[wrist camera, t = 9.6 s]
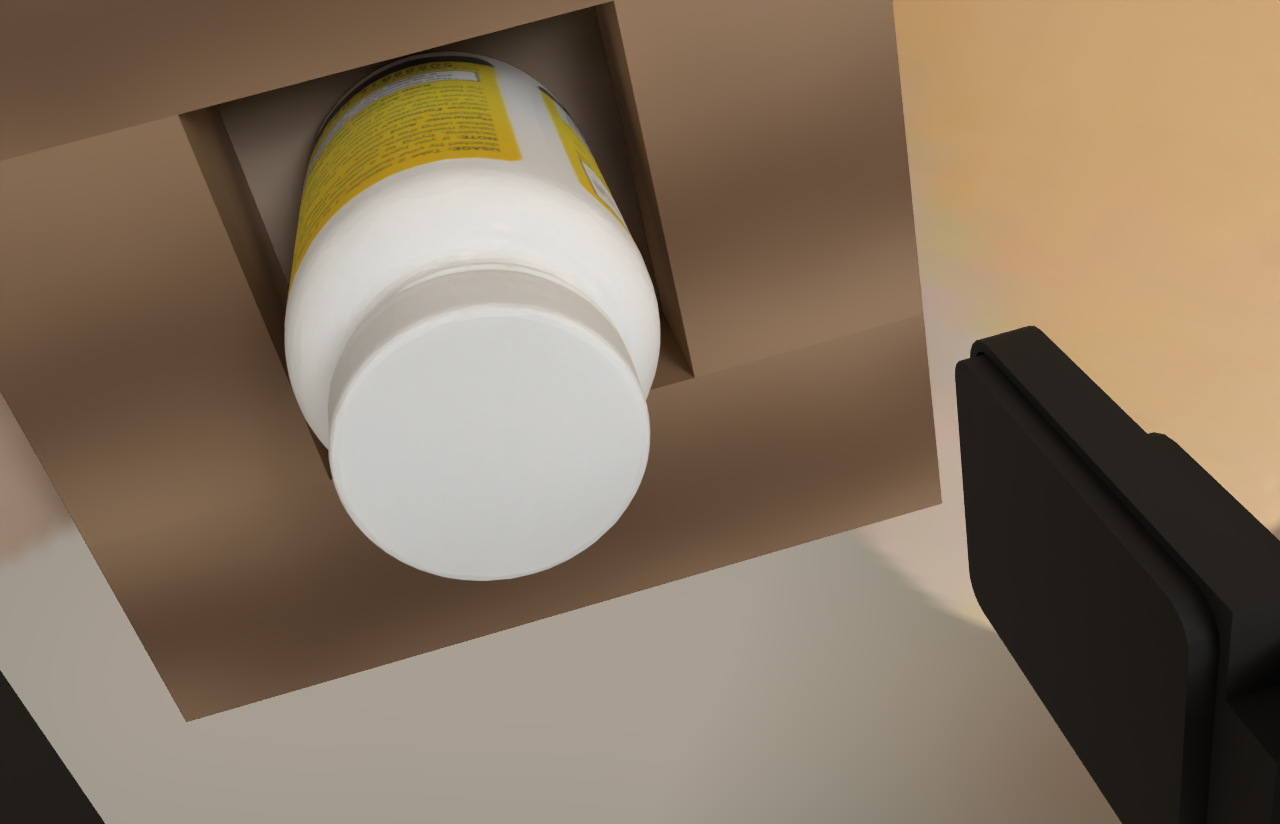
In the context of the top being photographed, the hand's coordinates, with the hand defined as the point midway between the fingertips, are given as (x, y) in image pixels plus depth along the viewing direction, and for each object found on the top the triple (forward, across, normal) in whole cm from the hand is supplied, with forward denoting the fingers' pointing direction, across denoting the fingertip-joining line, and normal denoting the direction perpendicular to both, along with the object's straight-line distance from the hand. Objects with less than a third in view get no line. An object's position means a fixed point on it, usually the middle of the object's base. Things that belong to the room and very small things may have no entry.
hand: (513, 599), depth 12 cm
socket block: (+13, 0, +1) cm, 13 cm away
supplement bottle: (+14, 0, +1) cm, 14 cm away
